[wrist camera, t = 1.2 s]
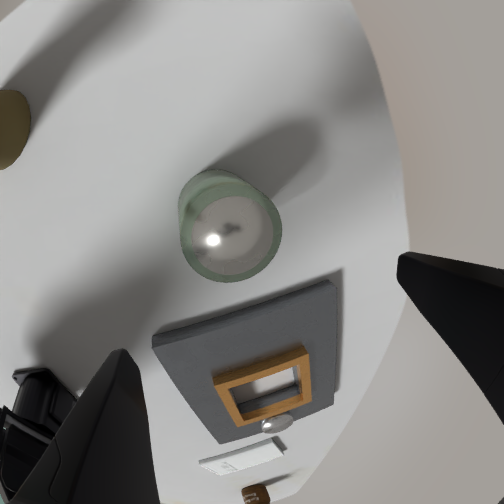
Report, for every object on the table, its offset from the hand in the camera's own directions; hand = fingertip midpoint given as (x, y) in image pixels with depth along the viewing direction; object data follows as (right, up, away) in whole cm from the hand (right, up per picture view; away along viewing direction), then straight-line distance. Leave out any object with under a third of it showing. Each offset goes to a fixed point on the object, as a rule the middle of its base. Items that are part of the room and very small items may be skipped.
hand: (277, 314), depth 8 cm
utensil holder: (-1, -54, +38) cm, 66 cm away
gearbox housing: (0, -12, +19) cm, 23 cm away
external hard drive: (-2, -32, +29) cm, 43 cm away
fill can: (-3, +5, +11) cm, 12 cm away
